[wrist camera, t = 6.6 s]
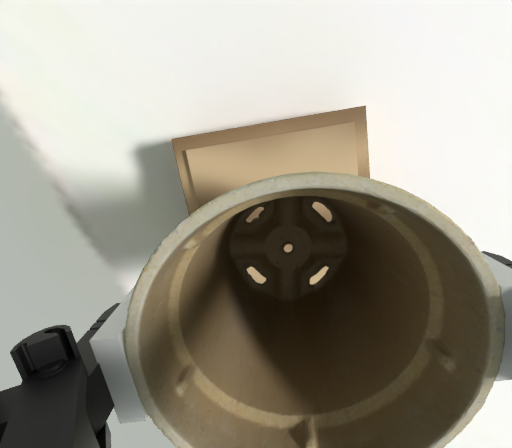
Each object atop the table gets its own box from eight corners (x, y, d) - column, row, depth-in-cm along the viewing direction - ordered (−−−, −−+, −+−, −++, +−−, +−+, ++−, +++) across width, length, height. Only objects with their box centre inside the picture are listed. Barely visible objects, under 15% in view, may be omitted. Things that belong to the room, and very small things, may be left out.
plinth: (184, 137, 23) (170, 139, 19) (349, 109, 22) (367, 105, 18) (217, 283, 26) (209, 308, 22) (360, 263, 25) (377, 286, 22)
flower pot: (174, 291, 17) (89, 444, 9) (227, 121, 14) (180, 105, 6) (332, 343, 18) (394, 529, 9) (410, 189, 15) (591, 259, 7)
